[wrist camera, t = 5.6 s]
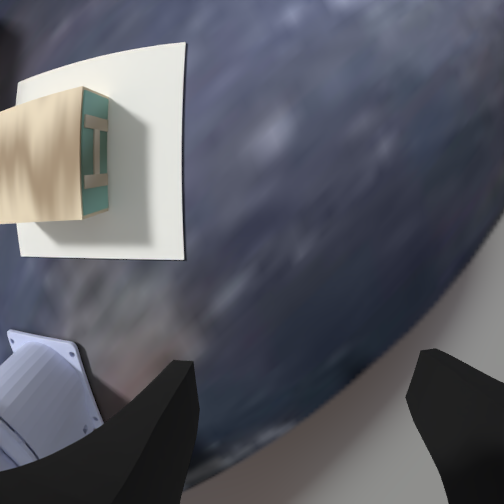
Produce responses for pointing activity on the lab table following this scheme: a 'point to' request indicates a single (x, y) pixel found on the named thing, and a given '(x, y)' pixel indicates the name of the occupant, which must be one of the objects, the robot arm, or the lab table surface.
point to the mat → (124, 158)
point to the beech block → (54, 158)
